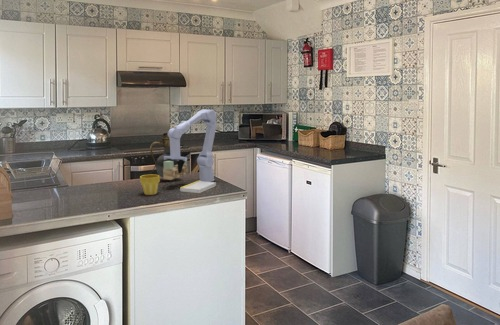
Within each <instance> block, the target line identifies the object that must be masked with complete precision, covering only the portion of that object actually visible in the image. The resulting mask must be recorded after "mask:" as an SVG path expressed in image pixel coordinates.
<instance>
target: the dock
mask: <svg viewBox="0 0 500 325" xmlns="http://www.w3.org/2000/svg"><path fill="white" fill-rule="evenodd" d="M216 186H217V182H214V181H211V182H204V181H198V180H196V181H194V182H190V183H188V184H186V185H183V186H180V187H179V191H180V192H183V193H192V194H201V193H203V192H206V191H208V190H210V189H213V188H214V187H216Z"/></svg>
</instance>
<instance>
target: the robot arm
mask: <svg viewBox="0 0 500 325" xmlns="http://www.w3.org/2000/svg"><path fill="white" fill-rule="evenodd" d="M217 115H218V114H217V113H216V111H215V110H214V109H204V108H202V109H200V110H198V111H197V112H196V113H195V114H194V115H193V116H192V117H190V118H189V119H188V120H182V121H180V123H179V124H178V125H175V126H174V128H170V129H169V130H168V131H167V132H166V133H167V134H168V137H169V139H170V156H164V160H167V161H173V163H174V160H179V161H177V164H178V172H179V173H181V172H182V168H183V165H184V163H185V161H188V157H186V156H181V137H182V135H183V134H185V133H186V132H187V131H189V130H190V129H191V126H192V125H194V124H196V123H198V122H199V121H200V120H201V121H202V122H204V123H205V124H206V131H205V136H204V141H203V146H202V151H200V152H199V153H198V156H197V158H196V163H197V165H198V167H199V168H198V169H199V171H198V173H199V180H197V181H204V182H214V181H216V179H215V177H214V176H215V174H214V173H215V172H214V171H215V170H214V168H213V165H214V161H215V160H214V155H213V153H212V151H213V150H212V149H213V146H214V140H215V136H216V135H215V134H216V130H217V125H218V123H217Z"/></svg>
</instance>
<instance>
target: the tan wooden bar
mask: <svg viewBox="0 0 500 325" xmlns="http://www.w3.org/2000/svg"><path fill="white" fill-rule="evenodd" d="M188 172H189V170H188V163H187V164H186V165H183V168H182V172H181V173H179V172H178V165H175V166H174V168H172V169H163V177H162V180H163V179H167V180H172V179H177V178H181V177H182V176H187V175H188V174H189V173H188Z"/></svg>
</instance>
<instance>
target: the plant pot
mask: <svg viewBox="0 0 500 325" xmlns="http://www.w3.org/2000/svg"><path fill="white" fill-rule="evenodd" d="M160 179H161V176H160V175H159V174H143V175H140V176H139V182H140V184H141V186H142V190H143V193H144V195H145V196H153V195H156V194H157V193H158V189H159V183H160V182H161V180H160Z"/></svg>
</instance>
